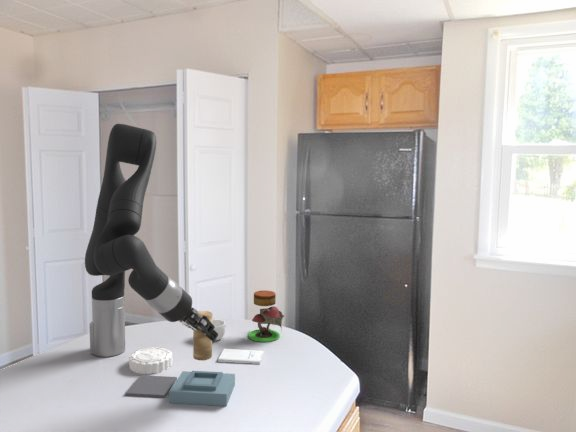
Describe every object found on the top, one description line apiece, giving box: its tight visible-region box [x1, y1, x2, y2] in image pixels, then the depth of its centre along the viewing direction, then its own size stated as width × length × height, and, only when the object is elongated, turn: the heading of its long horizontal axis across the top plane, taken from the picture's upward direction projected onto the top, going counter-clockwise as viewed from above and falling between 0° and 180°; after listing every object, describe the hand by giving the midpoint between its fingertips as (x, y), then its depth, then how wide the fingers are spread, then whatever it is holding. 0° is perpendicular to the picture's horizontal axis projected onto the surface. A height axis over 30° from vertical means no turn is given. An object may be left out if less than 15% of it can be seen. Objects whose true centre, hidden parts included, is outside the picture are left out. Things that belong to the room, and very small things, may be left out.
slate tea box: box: [168, 370, 236, 407], centre depth 118 cm, size 14×11×4 cm
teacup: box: [212, 318, 226, 342], centre depth 155 cm, size 10×8×5 cm
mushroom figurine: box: [248, 290, 285, 343], centre depth 158 cm, size 12×13×15 cm
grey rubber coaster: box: [124, 374, 178, 398], centre depth 121 cm, size 10×10×1 cm
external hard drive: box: [217, 348, 265, 365], centre depth 141 cm, size 2×8×12 cm
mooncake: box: [128, 346, 174, 375], centre depth 134 cm, size 12×12×4 cm
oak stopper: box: [192, 310, 213, 361], centre depth 117 cm, size 5×5×11 cm
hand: (208, 334), depth 118 cm, fingers closed on oak stopper, 4 cm apart
